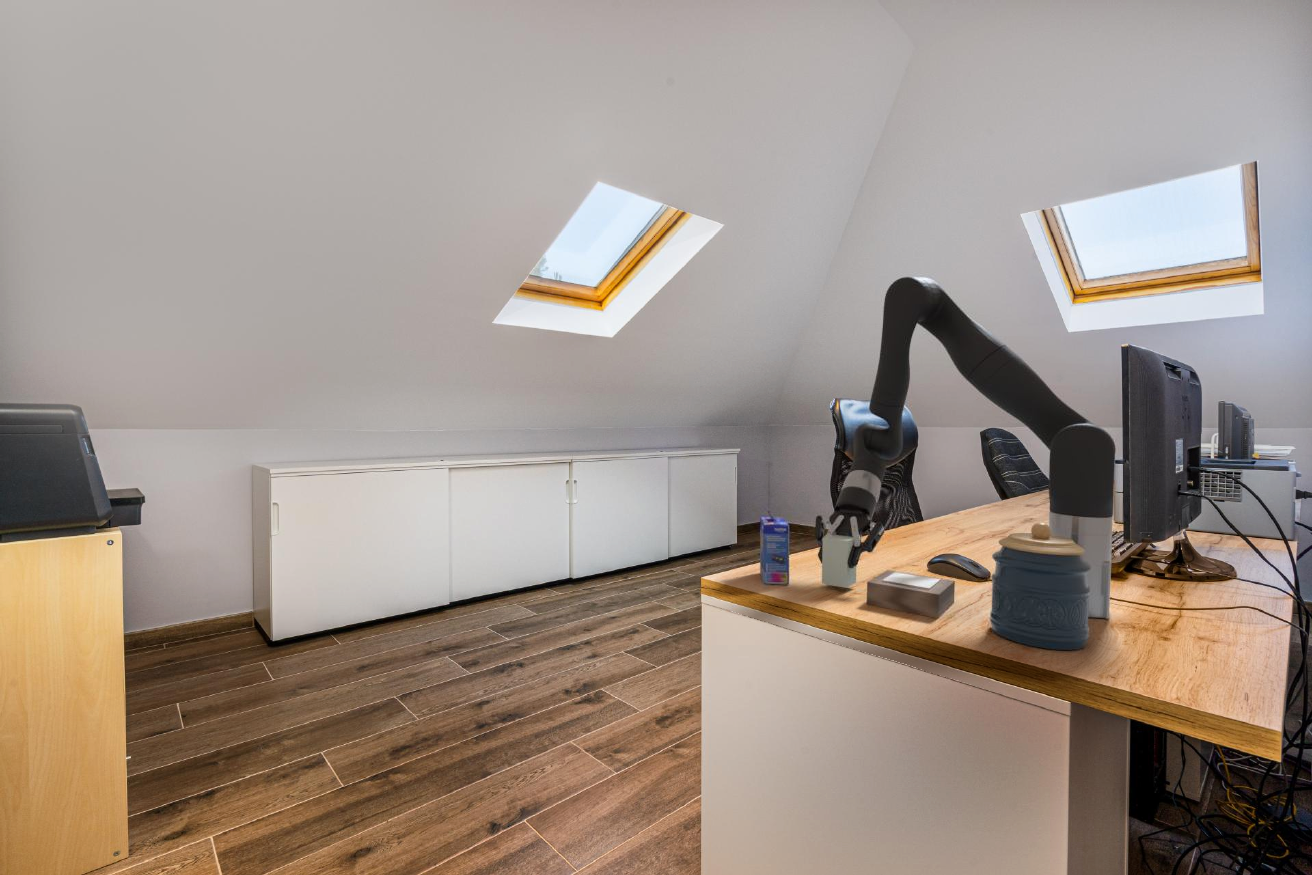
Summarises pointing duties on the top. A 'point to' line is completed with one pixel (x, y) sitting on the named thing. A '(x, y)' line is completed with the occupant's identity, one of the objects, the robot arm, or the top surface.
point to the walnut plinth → (911, 593)
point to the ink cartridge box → (774, 550)
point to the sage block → (837, 561)
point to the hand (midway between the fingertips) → (836, 563)
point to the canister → (1041, 590)
